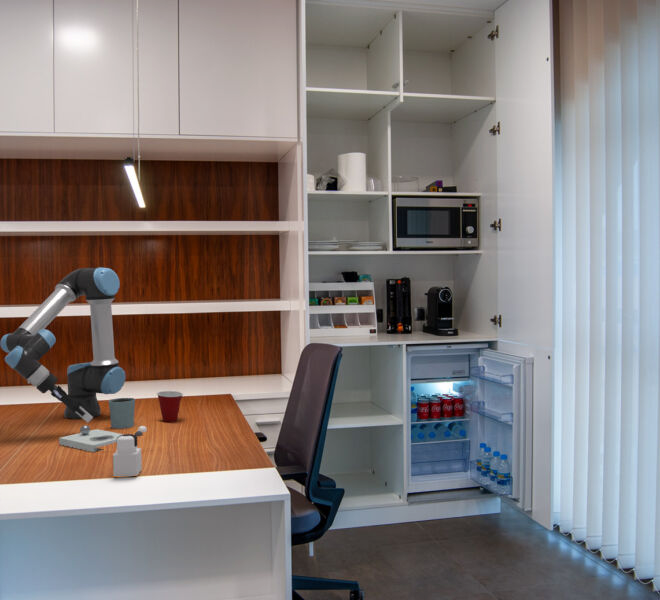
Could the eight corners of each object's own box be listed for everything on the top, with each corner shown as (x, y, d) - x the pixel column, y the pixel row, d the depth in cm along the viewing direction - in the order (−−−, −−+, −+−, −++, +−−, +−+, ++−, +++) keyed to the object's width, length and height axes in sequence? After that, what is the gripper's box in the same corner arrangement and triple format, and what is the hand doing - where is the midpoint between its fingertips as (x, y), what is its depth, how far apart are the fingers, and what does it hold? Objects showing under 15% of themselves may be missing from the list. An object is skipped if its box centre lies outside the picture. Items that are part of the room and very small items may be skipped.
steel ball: (78, 435, 243) (77, 425, 243) (86, 433, 246) (86, 423, 246) (83, 436, 241) (83, 426, 241) (92, 434, 244) (92, 425, 244)
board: (59, 444, 240) (59, 437, 240) (97, 435, 253) (97, 429, 253) (93, 452, 228) (93, 445, 228) (131, 442, 241) (131, 435, 241)
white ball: (135, 435, 253) (135, 426, 252) (143, 433, 255) (142, 424, 255) (141, 436, 251) (141, 427, 250) (149, 434, 253) (148, 425, 253)
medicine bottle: (118, 471, 206) (117, 433, 205) (141, 470, 206) (141, 432, 206) (112, 478, 198) (112, 438, 198) (137, 477, 199) (136, 437, 199)
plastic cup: (177, 424, 271) (176, 395, 271) (152, 423, 273) (152, 394, 273) (188, 418, 282) (187, 390, 281) (164, 417, 284) (163, 390, 284)
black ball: (132, 439, 246) (132, 431, 246) (139, 437, 249) (139, 429, 249) (138, 440, 244) (137, 432, 244) (144, 438, 247) (144, 430, 247)
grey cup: (114, 433, 255) (113, 403, 255) (105, 429, 263) (104, 399, 263) (139, 430, 261) (139, 399, 261) (130, 425, 270) (129, 396, 269)
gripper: (35, 384, 255) (82, 423, 262) (34, 389, 243) (84, 430, 250) (50, 370, 257) (96, 409, 264) (50, 374, 245) (98, 415, 252)
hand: (90, 419), depth 257 cm, fingers closed
